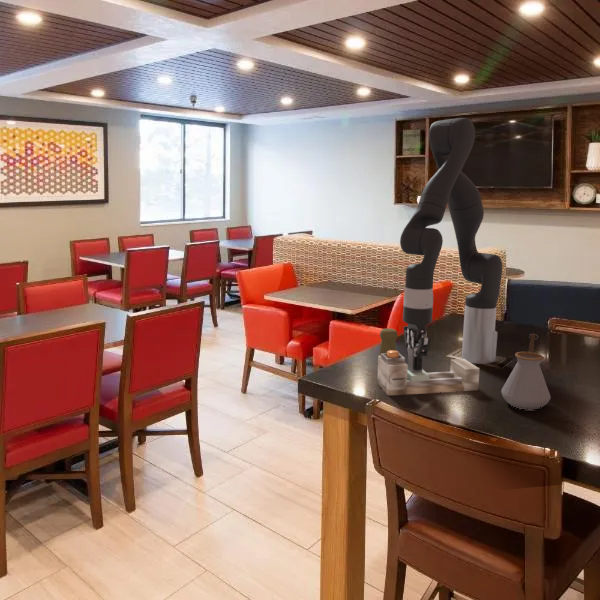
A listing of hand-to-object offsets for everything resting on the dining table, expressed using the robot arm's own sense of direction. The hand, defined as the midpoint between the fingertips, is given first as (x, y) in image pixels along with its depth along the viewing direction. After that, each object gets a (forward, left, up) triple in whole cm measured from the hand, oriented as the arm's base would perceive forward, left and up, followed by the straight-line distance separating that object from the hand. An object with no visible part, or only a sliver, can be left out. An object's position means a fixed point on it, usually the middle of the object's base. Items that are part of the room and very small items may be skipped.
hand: (414, 367), depth 159 cm
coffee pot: (-26, +12, -6) cm, 29 cm away
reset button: (+6, 0, +3) cm, 7 cm away
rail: (-4, 0, -6) cm, 7 cm away
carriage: (0, 0, -2) cm, 2 cm away
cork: (0, -21, -6) cm, 22 cm away
